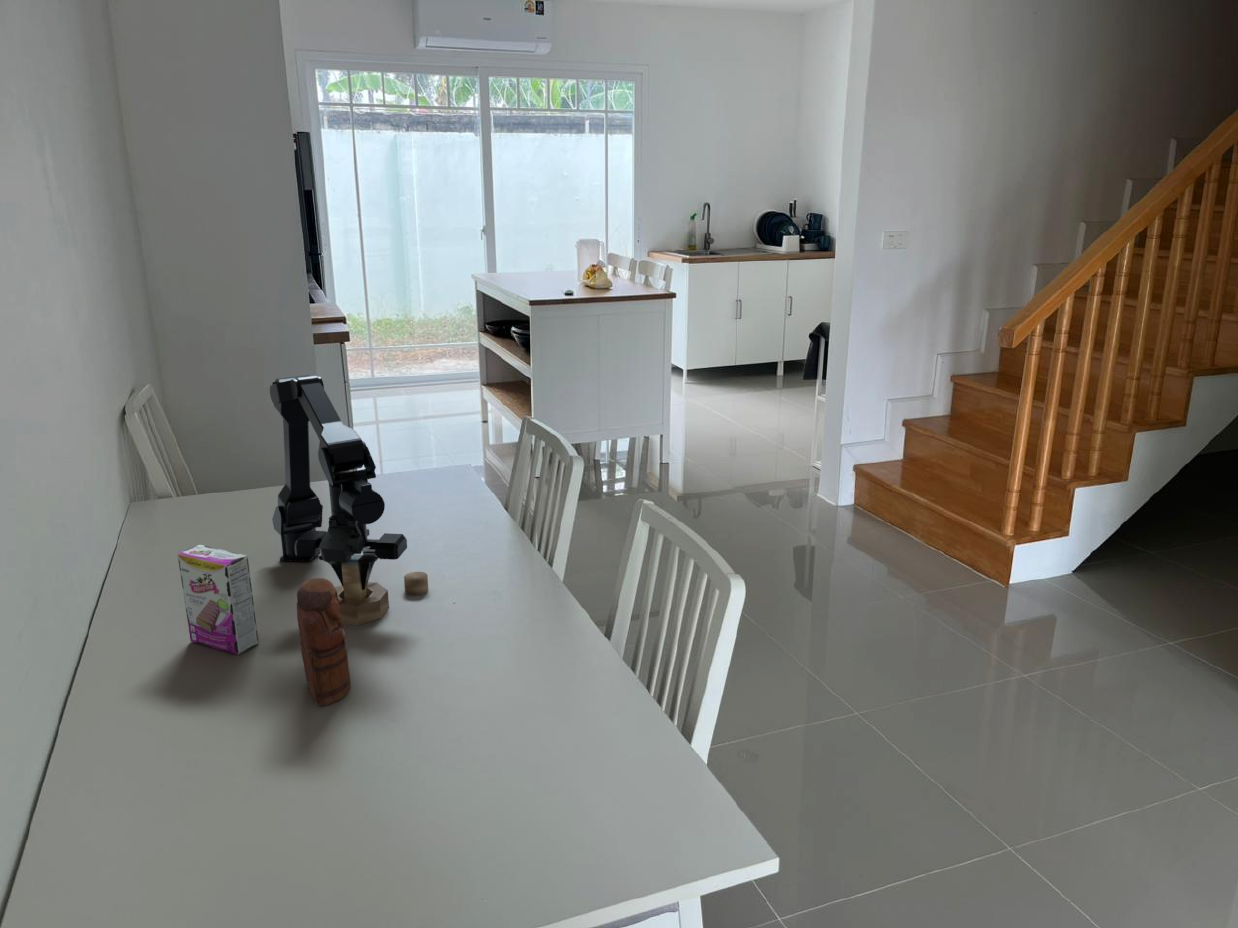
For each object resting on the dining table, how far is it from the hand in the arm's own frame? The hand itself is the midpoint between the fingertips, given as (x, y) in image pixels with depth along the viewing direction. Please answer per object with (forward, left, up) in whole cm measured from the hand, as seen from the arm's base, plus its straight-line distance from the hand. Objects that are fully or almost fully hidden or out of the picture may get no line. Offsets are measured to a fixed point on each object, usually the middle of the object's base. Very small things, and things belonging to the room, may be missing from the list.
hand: (355, 588), depth 170 cm
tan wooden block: (0, 0, -2) cm, 2 cm away
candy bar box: (-18, -14, -5) cm, 23 cm away
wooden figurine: (+5, -26, -5) cm, 27 cm away
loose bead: (+8, +10, -5) cm, 14 cm away
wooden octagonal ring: (0, 0, -4) cm, 4 cm away
